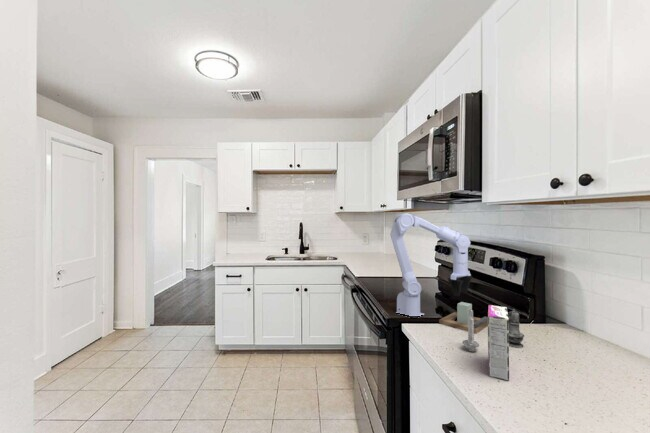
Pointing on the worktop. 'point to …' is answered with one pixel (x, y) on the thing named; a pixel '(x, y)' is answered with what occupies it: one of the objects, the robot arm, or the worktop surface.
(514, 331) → the grey chess piece
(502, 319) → the candy bar box
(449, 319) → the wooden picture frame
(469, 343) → the screw
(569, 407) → the worktop surface
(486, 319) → the metal rail
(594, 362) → the worktop surface
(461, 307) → the peg
